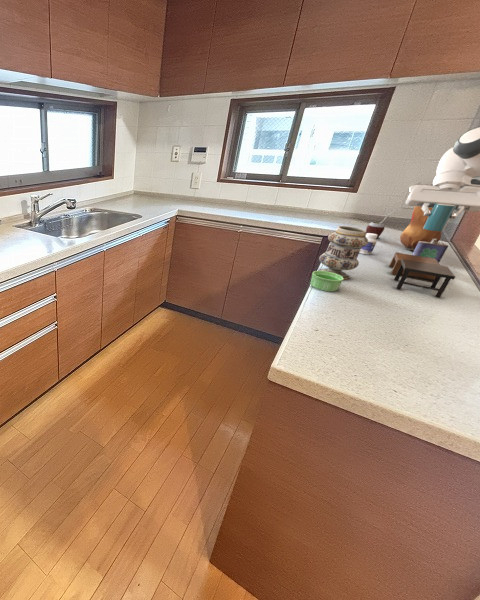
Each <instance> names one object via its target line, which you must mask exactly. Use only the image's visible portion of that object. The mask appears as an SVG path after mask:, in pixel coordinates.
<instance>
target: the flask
mask: <svg viewBox="0 0 480 600" xmlns="http://www.w3.org/2000/svg"><path fill="white" fill-rule="evenodd" d="M436 240H437V239H433V240H432V241H431V242H423V241H419V242H418V244H417V246H416V248H415V250H414V251H412V254H411V255H415V256H421V257H427V258H433V259H436V260H437V261H438V263H439V264H440V262H441V260H442V258H443V256H444V255H445V253H446V251H447V249H448V248H449V245H448V244H446V243H443V242H440V241H438V242H437V241H436Z"/></svg>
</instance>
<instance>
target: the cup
mask: <svg viewBox="0 0 480 600" xmlns="http://www.w3.org/2000/svg"><path fill="white" fill-rule="evenodd" d="M455 207H456V205H452V204H441V203H435V204H434V206H433V209H432V212H431V215H429V217H428V219H427V221H426V223H425V225H424V227H423V229H426V230H431V231H441V232H443V231H444V230H445V229H446V227H447V225H448V222H449V221H450V220H451V219H450V217H451V215H452V213H453V212H455V210H454V209H455Z"/></svg>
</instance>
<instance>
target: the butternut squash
mask: <svg viewBox="0 0 480 600" xmlns="http://www.w3.org/2000/svg"><path fill="white" fill-rule="evenodd" d="M421 208H422V207H418V206H414V208H413V210H412V215H411V218H410V222H409V224H408V225H407V227H406V228H405V229H404V230H403V231H402V232H401V234H400V237H399V240H400V244H401V245H403V247H404V248H405V249H407V250H408V251H412V252H414V250H415V248H416V246H417V244H418V242H419V241H423V242H431V241H432V240H433V239H437V240H436V241H437V242H440V240H441V239H442V231H431V230H426V229H423V227H424V225H425V223H426V221H427V219H428V217H429V216H424V212H423V210H422V209H421ZM428 209H429V210H432V209H433V208H428Z"/></svg>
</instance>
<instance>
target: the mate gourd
mask: <svg viewBox="0 0 480 600" xmlns="http://www.w3.org/2000/svg"><path fill="white" fill-rule="evenodd" d="M396 213H397V211H394V212H391V213H389V214H387V215H386V216H385V217H384V219H383V220H381V222H378V221H371V222H370V223H369V224H368V225H366V228H365V231H366V234H367V233H373V234H377V235H378V236H377V238H376V240H378V239H380V238H379V237H380V236H381V235H382V233H383V232H384V231H385V224H384V222H385V220H387V218H389V217H390V216H391V215H393V214H396Z"/></svg>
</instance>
